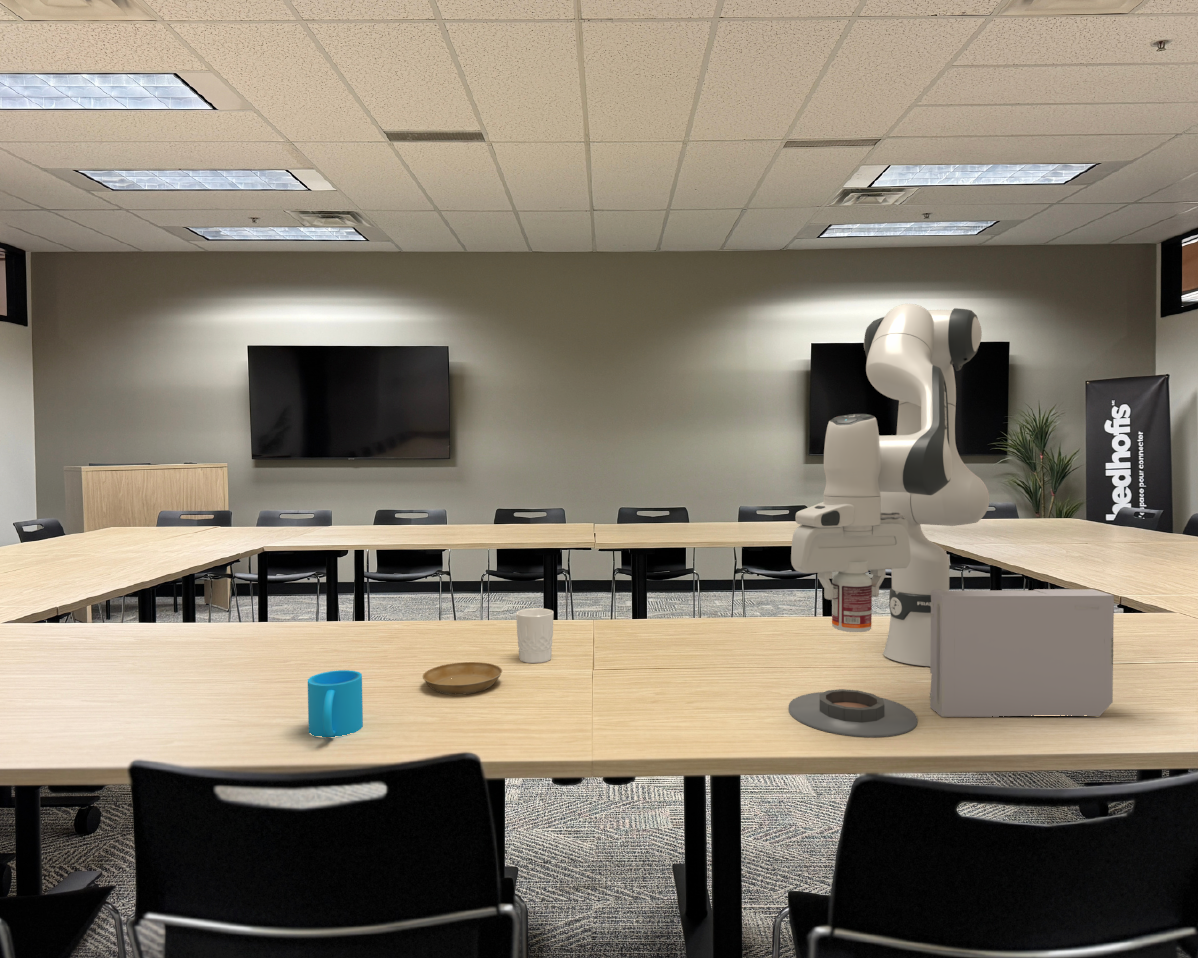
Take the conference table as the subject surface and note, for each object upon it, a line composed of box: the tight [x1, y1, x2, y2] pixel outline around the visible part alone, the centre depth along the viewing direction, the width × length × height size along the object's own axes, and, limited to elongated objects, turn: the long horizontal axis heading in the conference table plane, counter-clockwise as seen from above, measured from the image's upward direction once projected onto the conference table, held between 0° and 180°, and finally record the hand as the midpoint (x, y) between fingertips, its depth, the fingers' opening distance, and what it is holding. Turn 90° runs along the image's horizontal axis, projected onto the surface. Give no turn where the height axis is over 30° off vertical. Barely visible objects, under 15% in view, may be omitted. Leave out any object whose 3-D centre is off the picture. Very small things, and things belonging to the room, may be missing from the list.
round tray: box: [788, 688, 918, 738], centre depth 121 cm, size 20×20×2 cm
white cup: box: [515, 607, 554, 664], centre depth 156 cm, size 8×8×10 cm
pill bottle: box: [831, 561, 873, 633], centre depth 120 cm, size 6×6×11 cm
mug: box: [307, 669, 364, 737], centre depth 115 cm, size 12×8×8 cm
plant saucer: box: [422, 661, 503, 695], centre depth 138 cm, size 15×15×3 cm
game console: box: [929, 588, 1115, 718], centre depth 121 cm, size 6×27×20 cm, turn 88°
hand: (851, 597), depth 121 cm, fingers closed on pill bottle, 6 cm apart
